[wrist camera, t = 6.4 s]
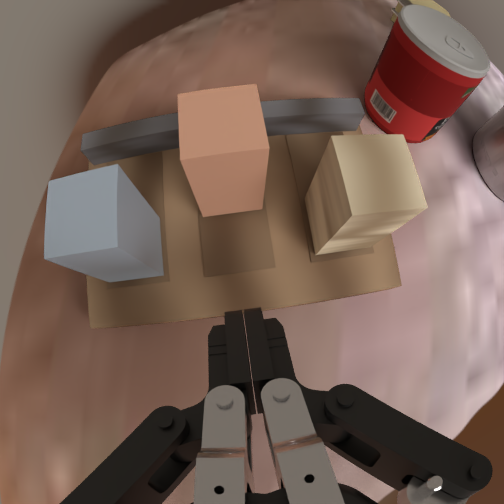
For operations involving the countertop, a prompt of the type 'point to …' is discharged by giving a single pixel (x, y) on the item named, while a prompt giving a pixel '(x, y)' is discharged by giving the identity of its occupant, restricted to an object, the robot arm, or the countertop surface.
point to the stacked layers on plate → (418, 0)
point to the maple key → (362, 192)
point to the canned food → (423, 73)
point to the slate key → (102, 226)
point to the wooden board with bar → (234, 225)
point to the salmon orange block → (224, 148)
